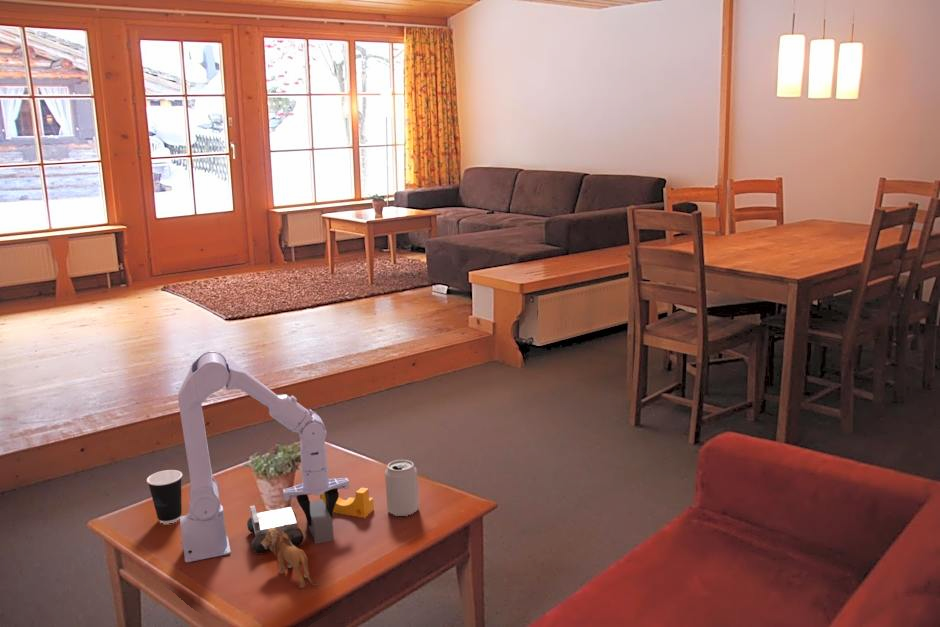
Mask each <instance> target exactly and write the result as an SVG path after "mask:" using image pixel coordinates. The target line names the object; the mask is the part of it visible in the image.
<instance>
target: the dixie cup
mask: <svg viewBox="0 0 940 627" xmlns="http://www.w3.org/2000/svg"><path fill="white" fill-rule="evenodd" d="M182 478H183V472H182V471H180V470H176V469H166V470H160V471H157V472H154V473H152V474H150V475H149V476H148V477H147V478H146V483H147V484H148V486H149V490H150V491H149V492H150V495H151V498H152V501H153V505H154V508H155V513H156V517H157V519H158V522H159V523H160V524H161V523H163V524H162V525H170V524H169V523H173V524H175V523H174V522H176V521H177V520H179V519H180V517H182V516H181V515H182V512H183V511H182ZM179 521H180V520H179ZM176 523H177V522H176Z"/></svg>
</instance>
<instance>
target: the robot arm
mask: <svg viewBox="0 0 940 627" xmlns="http://www.w3.org/2000/svg"><path fill="white" fill-rule="evenodd" d="M190 366H191V367H190V369H189V371H188V373H187V375H186V377H185V379H184V381H183V382H182V385H181V387H180V388H179V390H178V394H177V395H178V396H177V400H178V401H177V402H178V407H179V414H180V415H179V416H180V421H181V426H182V434H183V440H184V446H185V447H184V448H185V454H186V460H187V466H188V471H189V472H188V473H189V481H190V485H189V488H188V492H189V507H188V508H189V511H188V513H187V514H185V515H182V516H181V517H180V520H179V523H180V524H179V526H180V532H181V539H182V541H181V542H180V544H181V550H182V551H183V555H184V562H185V563H191V562H197V561H202V560H205V559H211V558H216V557H222V556H226V555H231V553H232V551H231V546H230V542H229V537H228V535H227V530H226V528H227V527H226V523H225V522H226V519H225V512H224V507H223V505H222V504H221V500H220V494H219V493H220V492H219V490H220V487H219V486H220V485H219V484H218V481H216V479H215V478H214V475H213V469H212V466H211V459H210V453H209V447H208V445H209V443H208V439H207V432H206V426H205V418H204V411H203V406H202V405H203V403H204V401H206V400H207V399H208V397H209V396H211V395H212V394H215V393H217V392H219V391H220V390H222V389H223V388H225V389H226V391H234V390H241V391H243V393H245V394H246V395H249V396H250V398H251V397H252V398H253V399H255V400H256V401H258V402H259V403H261V404H262V405H264V406H265V407H267V408H268V414H269V416H270V417H271V418H272V419H274V420H275V421H277V422H278V423H279V424H281V425H282V426H284V427H285V428H286V429H288V430H290V431H291V432H293V433H295V434H298V435H299V440H300V441H299V442H300V448H299V452H300V466H301V477H302V483H299V484H296V485H294V486H291V487H288V488H282V493H283V494H282V495H283V499H284V501H285V502H286V501H289V500H290V499H294V498H296V500H297V504H298V505H299V506H300V508H301V509H302V511H303V513H304V515H305V518H306V523H307V526H308V527H309V526H311V515H310V502H311V501H310V500H309V499H310V498H309V496H310V495H314V496H320V495H321V494H324V492H325V499H326V507H327V510H328V512H329V514H330V516H331V518H332V519H333V514H334V513H333V510H334V506H335V504H336V502H337V500H338V497H340V496H339V495H340V494H339V491H338V490H342V489H344V490H349V489H350V481H349V478H347V477H342V478H341V477H340V478H329V470H328V467H329V466H328V457H327V456H328V455H327V446H326V440H325V439H326V438H327V436H328V434H327V433H328V432H327V430H326V427H325V424H324V421H323V420H322V418H321V417H320V416H319V414H318V413H317V412H316V411H313V410H312V409H311V408H309V409H307V408H306V407H304V406H303V405H302V404H301V403H299V402H297V401H298V399H297V397H295V396H294V395H291V396H289V395H288V394H286V393H283V394H277V393H275V392H274V391H273V390H272V389H270V388H269V387H267V386H266V385H265V384H264V383H262V382H261V381H260V380H258V379H257V378H256V377H255V376H253V375H252V374H251V373H250V372H248V371H247V370H246V369H245V368H243V367H242V366H240V365H239V364H237V363H236V362H235V361H233V360H232V359H230V358H227V359H226V357H225V356H224V355H223V354H222V353H220V352H218V351H214V350H211V351H210V350H209V351H206V352H204V353H202V354H201V355H199V357H198V358H196V359H195V361H193V362H192V364H191V365H190Z"/></svg>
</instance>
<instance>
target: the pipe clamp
mask: <svg viewBox="0 0 940 627" xmlns="http://www.w3.org/2000/svg"><path fill="white" fill-rule="evenodd" d="M321 499H323V501H324V503H325V505H326V499H325V492H324V494H321V495H319V500H321ZM374 506H375V505H374V498H373V497H370V490H369V488H367V487H360V488H359V489H357V490H356V491H355V497H352V496H351V497H350V496H349V497H348V498H347V499H346V500H345V499H343V498H342V497H340V496H339V497H338V500H337V502H336V504H335V506H334V510H333V512H336V513H335V514H338V513H341V514H340V515H344V514H345V515H344V516H350V515H352V516H351V517H356V516H358V517H357V518H362V517H363V518H362V519H366V518H367V517H368V516H369V515H370V514H371V513H372V512H374V510H375V507H374ZM368 514H369V515H368ZM366 516H367V517H366Z"/></svg>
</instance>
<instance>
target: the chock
mask: <svg viewBox="0 0 940 627" xmlns="http://www.w3.org/2000/svg"><path fill="white" fill-rule="evenodd" d="M310 515H311V526H308V527H310V528H309V530H310V533H311V535H312V537H314V538H313V540H314V542H316V543H317V544H321V542H322V543H326V542H325V541H327V542H330V541H329V540H331V541H334V539H335V537H334V525H333V517H332V518H331V516H330V514H329V512H328V510H327V507H326V505H325V503H324V501H323V499H321V500H320V499H317V500H311V501H310ZM316 543H315V544H316Z"/></svg>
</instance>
